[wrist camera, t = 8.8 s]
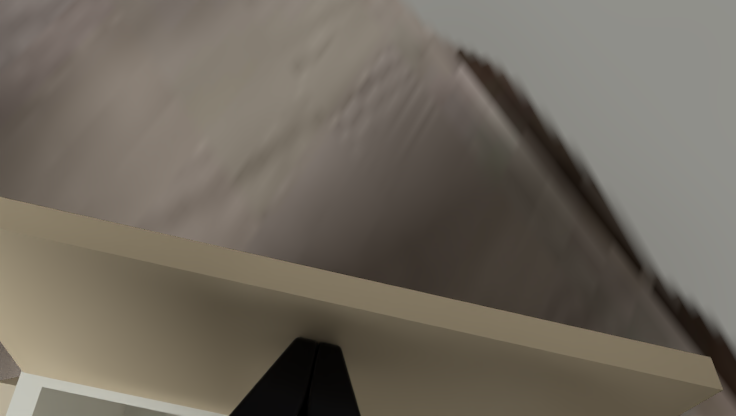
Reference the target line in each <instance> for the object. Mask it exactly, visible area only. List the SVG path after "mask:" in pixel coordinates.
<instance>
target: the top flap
mask: <svg viewBox="0 0 736 416" xmlns="http://www.w3.org/2000/svg"><path fill="white" fill-rule="evenodd" d="M297 337H302V338H307V339H312V340H315V341H317V343H318V344H319V343H320V342H325V343H330V344H335V345H338V346H340V347H341V349H342V352H343V356H344V359H345V362H346V366H347V369H348V373H349V376H350V380H351V383H352V387H353V390H354V393H355V397H356V400H357V404H358V407H359V411H360V414H361V416H679V415H680V414H682V413H684V412H686V411H687V410H689V409H691V408H693V407H694V406H696V405H698V404H700V403H701V402H703V401H705V400H707V399H708V398H710V397H712V396H714V395H716V394H717V393H719V392H721V391H723V388H722V386H721V383H720V380H719V378H718V375H717V373H716V370H715V367H714V365H713V362H712V359H711V357H707V356H702V355H698V354H693V353H689V352H685V351H680V350H676V349H671V348H667V347H663V346H658V345H654V344H649V343H645V342H640V341H636V340H632V339H627V338H623V337H618V336H614V335H609V334H605V333H601V332H596V331H592V330H587V329H583V328H578V327H574V326H570V325H565V324H561V323H556V322H552V321H547V320H543V319H539V318H534V317H530V316H525V315H521V314H516V313H512V312H508V311H503V310H499V309H494V308H490V307H485V306H481V305H477V304H472V303H468V302H463V301H459V300H454V299H450V298H446V297H441V296H437V295H432V294H428V293H423V292H419V291H415V290H410V289H406V288H401V287H397V286H392V285H388V284H384V283H379V282H375V281H370V280H366V279H361V278H357V277H353V276H348V275H344V274H339V273H335V272H330V271H326V270H322V269H317V268H313V267H308V266H304V265H299V264H295V263H291V262H286V261H282V260H277V259H273V258H268V257H264V256H260V255H255V254H251V253H246V252H242V251H238V250H233V249H229V248H224V247H220V246H215V245H211V244H207V243H202V242H198V241H193V240H189V239H184V238H180V237H176V236H171V235H167V234H162V233H158V232H153V231H149V230H145V229H140V228H136V227H131V226H127V225H122V224H118V223H114V222H109V221H105V220H100V219H96V218H91V217H87V216H83V215H78V214H74V213H69V212H65V211H60V210H56V209H52V208H47V207H43V206H38V205H34V204H29V203H25V202H21V201H16V200H12V199H7V198H3V197H0V342H1V343H2V344H3V346H4V347H5V348H6V350H7V351H8V352H9V354H10V355H11V357H12V358H13V359H14V361H15V362H16V363H17V365H18V366H19V367H20V369H21V370H22V372H24V373H29V374H33V375H38V376H43V377H48V378H52V379H57V380H62V381H67V382H71V383H76V384H81V385H86V386H90V387H95V388H100V389H105V390H109V391H114V392H119V393H124V394H129V395H133V396H138V397H143V398H148V399H152V400H157V401H162V402H167V403H171V404H176V405H181V406H186V407H190V408H195V409H200V410H205V411H209V412H214V413H219V414H224V415H230V413H231V412H232V411H233V410H234V409H235V408H236V407H237V405H238V404H239V403H240V402H241V401H242V400H243V398H244V397H245V396H246V395H247V394H248V393H249V391H250V390H251V389H252V388H253V387H254V386H255V384H256V383H257V382H258V381H259V380H260V379H261V377H262V376H263V375H264V374H265V373H266V372H267V370H268V369H269V368H270V367H271V366H272V365H273V363H274V362H275V361H276V360H277V359H278V358H279V356H280V355H281V354H282V353H283V352H284V351H285V349H286V348H287V347H288V346H289V345H290V344H291V343H292V341H293V340H294V339H295V338H297ZM317 347H318V346H317Z"/></svg>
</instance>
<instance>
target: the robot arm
mask: <svg viewBox="0 0 736 416" xmlns="http://www.w3.org/2000/svg"><path fill="white" fill-rule="evenodd" d="M317 346H318V347H317ZM229 416H361V414H360V411H359V407H358V404H357V400H356V397H355V393H354V390H353V387H352V383H351V380H350V376H349V373H348V369H347V366H346V362H345V359H344V356H343V352H342V349H341V347H340V346H338V345H335V344H330V343H325V342H320V343H319V344H318V343H317V341H315V340H312V339H307V338H302V337H297V338H295V339H294V340H293V341H292V343H291V344H290V345H289V346H288V347H287V348H286V349H285V351H284V352H283V353H282V354H281V355H280V356H279V358H278V359H277V360H276V361H275V362H274V363H273V365H272V366H271V367H270V368H269V369H268V370H267V372H266V373H265V374H264V375H263V376H262V377H261V379H260V380H259V381H258V382H257V383H256V384H255V386H254V387H253V388H252V389H251V390H250V391H249V393H248V394H247V395H246V396H245V397H244V398H243V400H242V401H241V402H240V403H239V404H238V405H237V407H236V408H235V409H234V410H233V411H232V412H231V413H230V415H229Z"/></svg>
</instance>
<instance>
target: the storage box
mask: <svg viewBox="0 0 736 416" xmlns="http://www.w3.org/2000/svg"><path fill="white" fill-rule="evenodd" d="M0 416H229V415H224V414H219V413H214V412H209V411H205V410H200V409H195V408H190V407H186V406H181V405H176V404H171V403H167V402H162V401H157V400H152V399H148V398H143V397H138V396H133V395H129V394H124V393H119V392H114V391H109V390H105V389H100V388H95V387H90V386H86V385H81V384H76V383H71V382H67V381H62V380H57V379H52V378H48V377H43V376H38V375H33V374H29V373H24V372H22V371H21V374H20V377H15V378H11V379H6V380H1V381H0Z"/></svg>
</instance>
